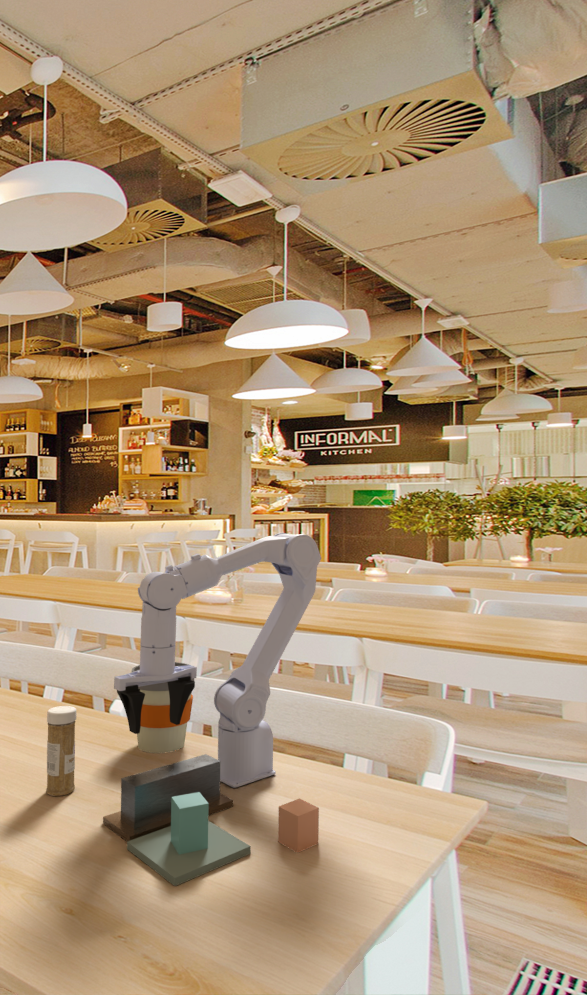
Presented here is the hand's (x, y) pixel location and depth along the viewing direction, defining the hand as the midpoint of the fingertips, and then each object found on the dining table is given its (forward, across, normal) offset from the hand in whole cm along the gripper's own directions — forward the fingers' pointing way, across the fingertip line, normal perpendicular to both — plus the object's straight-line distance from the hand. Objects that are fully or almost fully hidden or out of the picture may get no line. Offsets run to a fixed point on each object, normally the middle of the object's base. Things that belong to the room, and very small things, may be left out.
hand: (155, 727), depth 111 cm
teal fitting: (+9, +7, +20) cm, 23 cm away
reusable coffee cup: (+10, -12, -18) cm, 24 cm away
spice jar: (+11, +12, -10) cm, 19 cm away
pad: (+10, +6, +20) cm, 24 cm away
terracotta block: (+10, -6, +28) cm, 31 cm away
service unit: (+10, +2, +9) cm, 14 cm away
